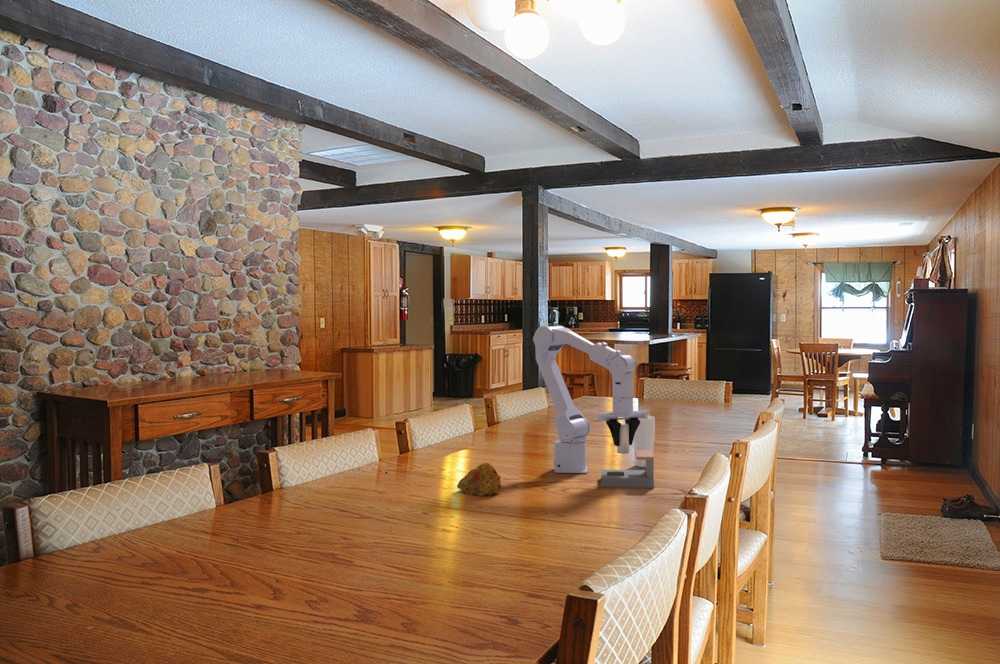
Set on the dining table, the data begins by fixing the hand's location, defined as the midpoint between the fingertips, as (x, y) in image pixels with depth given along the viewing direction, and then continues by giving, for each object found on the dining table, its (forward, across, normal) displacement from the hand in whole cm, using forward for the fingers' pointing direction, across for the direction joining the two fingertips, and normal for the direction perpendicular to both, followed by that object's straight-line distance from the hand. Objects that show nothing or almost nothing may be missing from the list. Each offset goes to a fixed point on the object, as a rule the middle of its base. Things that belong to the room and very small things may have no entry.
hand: (623, 445), depth 206 cm
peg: (+2, 0, 0) cm, 2 cm away
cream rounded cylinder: (+10, +13, +12) cm, 20 cm away
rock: (+10, -42, -2) cm, 43 cm away
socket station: (+9, -2, -6) cm, 11 cm away
